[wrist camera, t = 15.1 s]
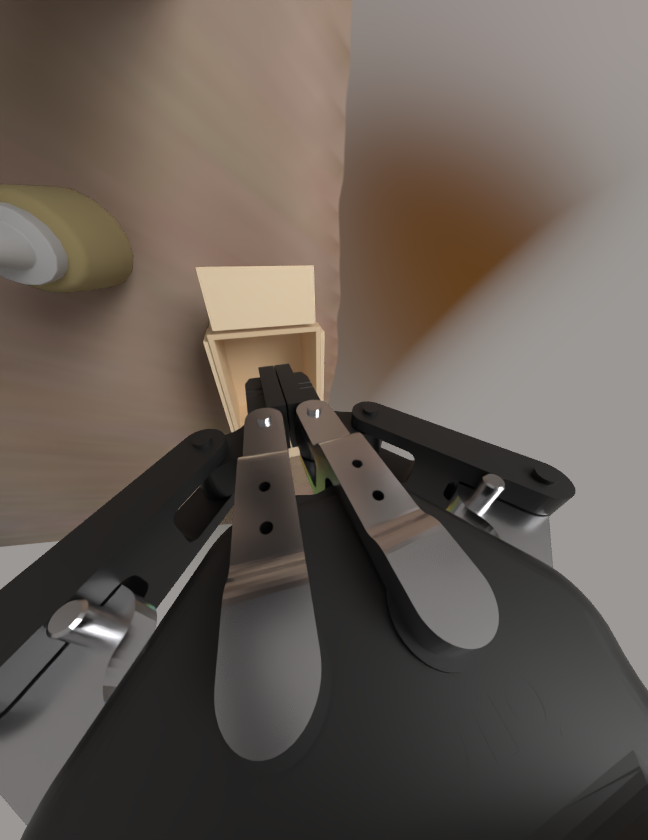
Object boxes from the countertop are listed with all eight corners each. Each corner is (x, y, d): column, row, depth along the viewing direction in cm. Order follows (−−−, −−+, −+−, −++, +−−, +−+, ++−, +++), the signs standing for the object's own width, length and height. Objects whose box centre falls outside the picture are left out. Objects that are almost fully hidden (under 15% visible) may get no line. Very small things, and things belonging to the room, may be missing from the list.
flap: (212, 330, 26) (196, 267, 23) (314, 322, 29) (312, 265, 26) (212, 331, 26) (195, 267, 23) (315, 323, 29) (313, 265, 26)
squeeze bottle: (159, 257, 28) (97, 278, 15) (109, 296, 29) (8, 348, 16) (84, 171, 23) (-116, 86, 10) (26, 221, 24) (-236, 205, 10)
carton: (207, 313, 33) (200, 335, 26) (306, 307, 37) (325, 325, 30) (233, 407, 44) (234, 442, 37) (308, 395, 47) (323, 424, 40)
